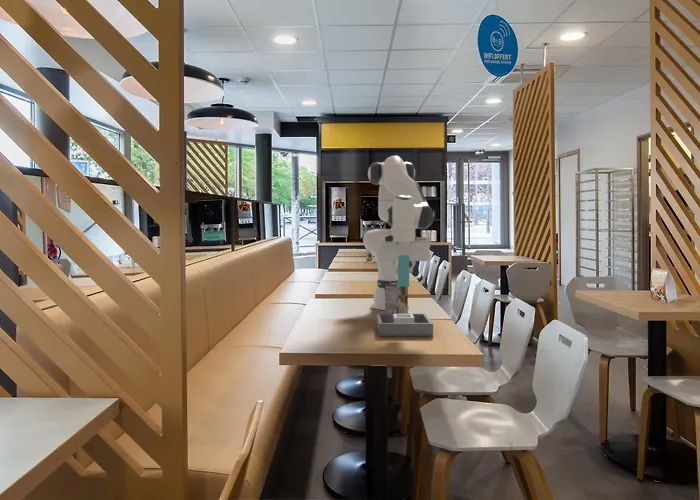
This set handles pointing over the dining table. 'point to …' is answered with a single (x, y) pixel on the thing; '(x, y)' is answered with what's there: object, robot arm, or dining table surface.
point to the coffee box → (396, 299)
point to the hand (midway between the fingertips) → (403, 272)
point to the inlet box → (404, 325)
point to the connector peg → (403, 271)
